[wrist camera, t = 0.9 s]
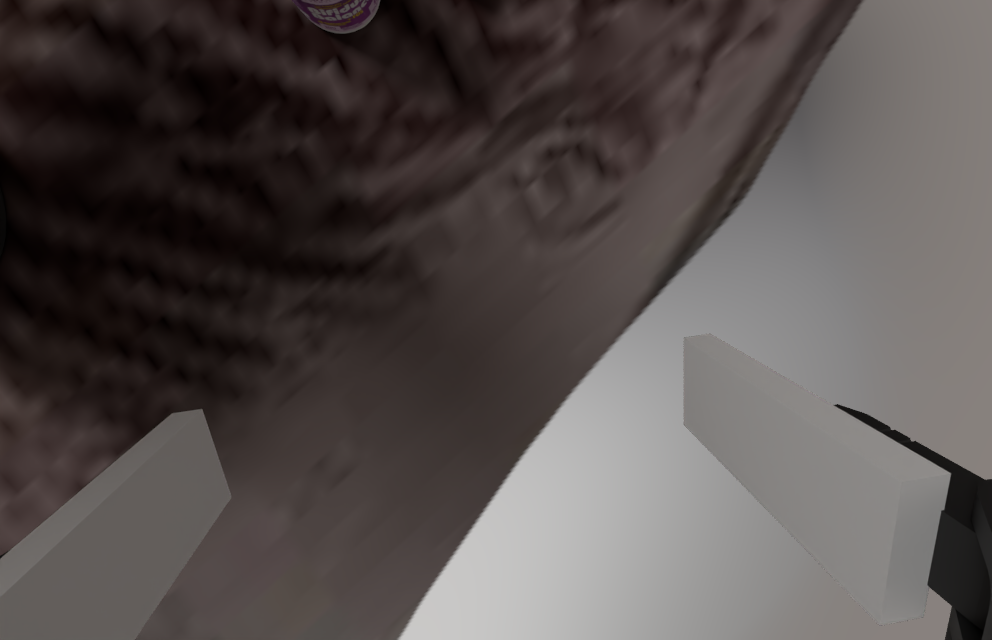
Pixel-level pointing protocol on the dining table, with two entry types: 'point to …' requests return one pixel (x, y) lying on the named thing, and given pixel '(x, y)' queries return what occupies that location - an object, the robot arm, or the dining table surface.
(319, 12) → the pill bottle
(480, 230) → the dining table surface
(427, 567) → the dining table surface
